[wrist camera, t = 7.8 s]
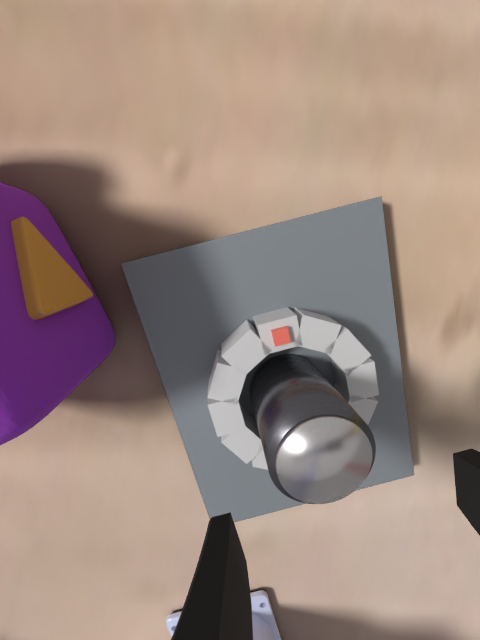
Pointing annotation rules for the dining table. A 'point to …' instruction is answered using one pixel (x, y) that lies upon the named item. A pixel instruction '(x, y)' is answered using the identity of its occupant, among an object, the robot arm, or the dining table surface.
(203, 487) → the mount board
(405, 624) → the dining table surface
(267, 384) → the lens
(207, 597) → the robot arm
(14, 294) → the toy camera
